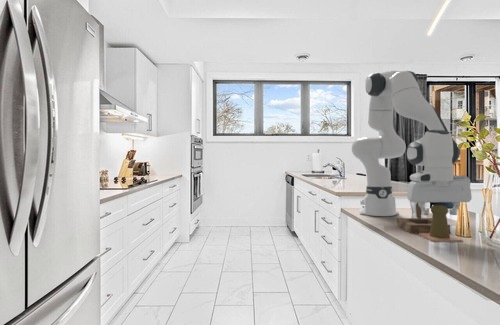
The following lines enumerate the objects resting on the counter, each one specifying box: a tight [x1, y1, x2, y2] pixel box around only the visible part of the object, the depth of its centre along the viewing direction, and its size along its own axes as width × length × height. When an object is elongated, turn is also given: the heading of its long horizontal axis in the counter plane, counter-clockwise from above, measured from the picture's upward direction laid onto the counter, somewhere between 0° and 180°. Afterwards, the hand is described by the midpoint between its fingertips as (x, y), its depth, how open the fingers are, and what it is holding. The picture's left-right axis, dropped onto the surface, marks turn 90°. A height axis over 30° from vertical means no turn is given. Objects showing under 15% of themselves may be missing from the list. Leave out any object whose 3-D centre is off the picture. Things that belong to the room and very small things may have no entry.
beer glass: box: [409, 201, 428, 218], centre depth 140 cm, size 7×7×15 cm
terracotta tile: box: [418, 233, 464, 243], centre depth 112 cm, size 10×10×1 cm
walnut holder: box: [396, 217, 451, 234], centre depth 125 cm, size 14×14×3 cm
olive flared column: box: [430, 204, 450, 238], centre depth 112 cm, size 6×6×11 cm
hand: (439, 214), depth 112 cm, fingers open, 8 cm apart
